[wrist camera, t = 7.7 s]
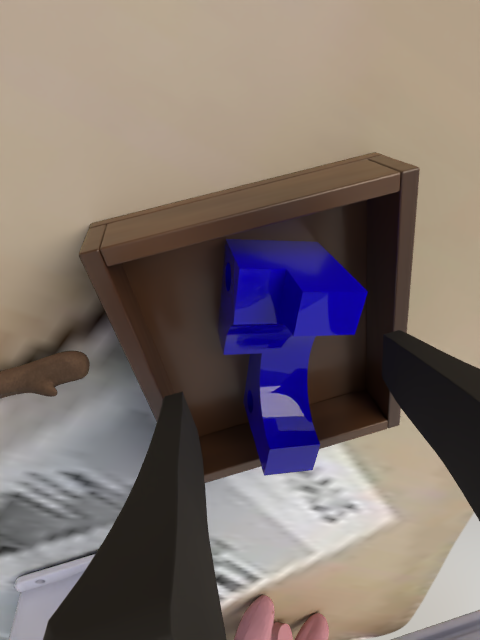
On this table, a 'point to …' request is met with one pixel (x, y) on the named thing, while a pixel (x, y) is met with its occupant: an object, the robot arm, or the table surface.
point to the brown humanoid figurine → (44, 374)
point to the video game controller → (277, 624)
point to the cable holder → (283, 336)
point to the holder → (206, 283)
